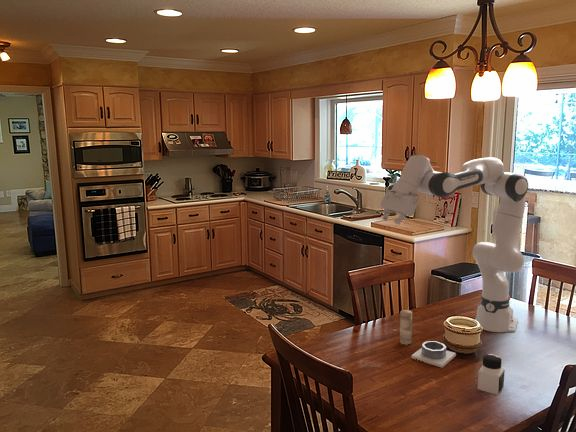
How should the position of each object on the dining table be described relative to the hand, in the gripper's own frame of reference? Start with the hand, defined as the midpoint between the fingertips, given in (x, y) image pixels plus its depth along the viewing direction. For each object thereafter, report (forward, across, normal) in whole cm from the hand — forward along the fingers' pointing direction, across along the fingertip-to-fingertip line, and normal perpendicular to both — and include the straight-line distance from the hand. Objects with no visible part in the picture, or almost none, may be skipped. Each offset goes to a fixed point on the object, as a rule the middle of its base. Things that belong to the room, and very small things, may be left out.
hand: (390, 221), depth 196 cm
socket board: (+42, -15, -36) cm, 58 cm away
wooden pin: (+44, +1, -34) cm, 55 cm away
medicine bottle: (+40, -43, -40) cm, 71 cm away
